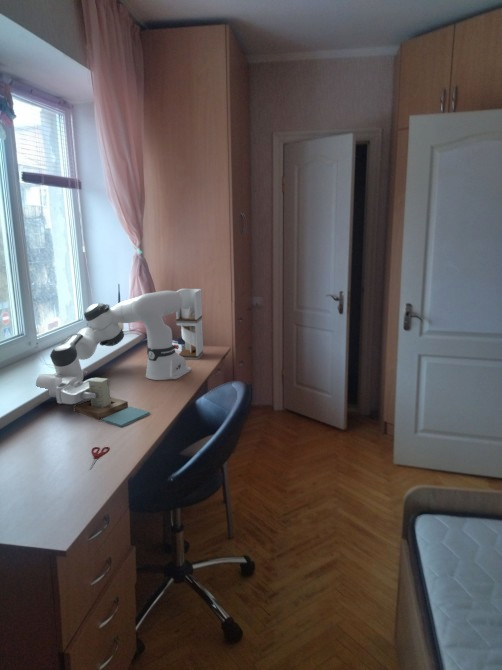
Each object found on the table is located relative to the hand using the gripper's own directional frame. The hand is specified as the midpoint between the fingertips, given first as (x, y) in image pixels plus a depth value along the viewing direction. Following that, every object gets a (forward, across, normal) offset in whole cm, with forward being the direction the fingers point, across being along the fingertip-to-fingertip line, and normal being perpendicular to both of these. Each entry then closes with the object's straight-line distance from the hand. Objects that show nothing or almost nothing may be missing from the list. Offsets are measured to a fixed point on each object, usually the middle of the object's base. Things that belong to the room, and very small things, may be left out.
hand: (101, 392), depth 184 cm
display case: (-3, -77, -7) cm, 77 cm away
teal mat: (+12, +3, -7) cm, 14 cm away
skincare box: (-1, 0, -7) cm, 7 cm away
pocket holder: (-1, 0, -7) cm, 7 cm away
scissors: (+22, +32, -8) cm, 40 cm away
